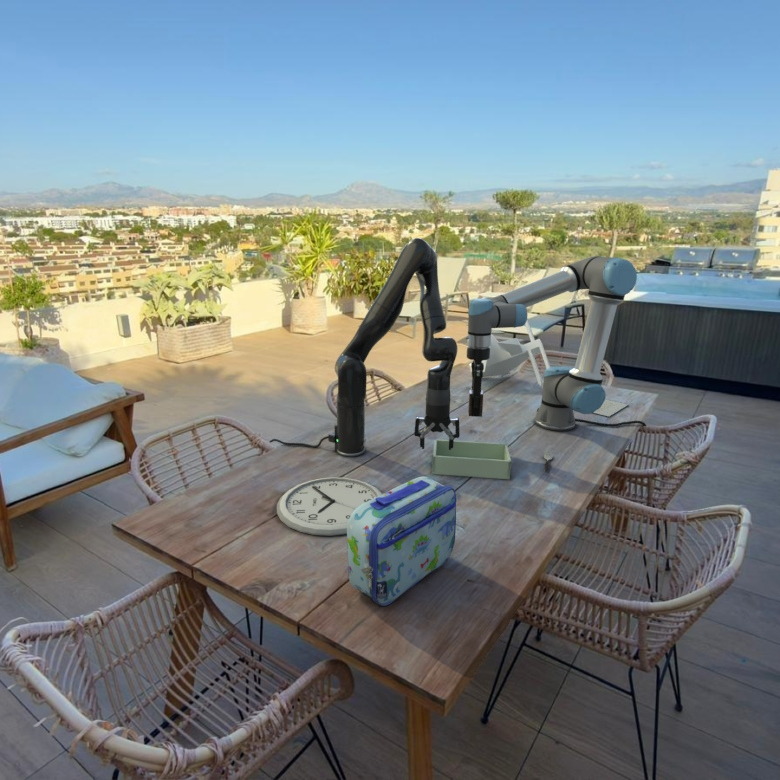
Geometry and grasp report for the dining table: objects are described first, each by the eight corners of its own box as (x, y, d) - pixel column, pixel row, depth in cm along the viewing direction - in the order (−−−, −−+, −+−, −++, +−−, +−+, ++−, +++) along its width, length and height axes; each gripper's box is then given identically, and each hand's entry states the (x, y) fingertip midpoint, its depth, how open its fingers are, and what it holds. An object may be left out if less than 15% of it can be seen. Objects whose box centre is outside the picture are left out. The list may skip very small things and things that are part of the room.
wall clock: (392, 527, 129) (268, 531, 127) (391, 533, 130) (269, 537, 127) (383, 473, 158) (282, 475, 155) (383, 478, 158) (282, 480, 156)
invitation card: (608, 416, 214) (573, 407, 224) (608, 416, 214) (573, 408, 224) (628, 404, 229) (594, 396, 238) (628, 405, 229) (594, 397, 238)
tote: (505, 460, 172) (507, 443, 171) (509, 479, 159) (511, 461, 158) (433, 455, 175) (434, 439, 173) (432, 474, 162) (432, 456, 160)
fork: (540, 473, 163) (541, 467, 163) (544, 453, 178) (545, 448, 177) (549, 474, 162) (550, 468, 162) (552, 454, 177) (553, 449, 176)
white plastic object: (490, 419, 265) (470, 397, 240) (471, 347, 287) (451, 319, 262) (561, 395, 253) (548, 369, 228) (536, 321, 275) (521, 290, 250)
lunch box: (376, 619, 101) (377, 524, 95) (340, 592, 109) (339, 502, 102) (459, 562, 119) (465, 479, 113) (424, 542, 126) (427, 463, 120)
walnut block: (481, 412, 181) (482, 390, 178) (482, 416, 176) (483, 394, 174) (468, 411, 181) (469, 389, 179) (468, 416, 177) (469, 393, 174)
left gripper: (460, 397, 166) (458, 444, 171) (415, 396, 167) (414, 443, 172) (461, 405, 158) (459, 454, 163) (414, 404, 160) (413, 452, 165)
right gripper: (466, 340, 180) (463, 404, 187) (467, 352, 164) (464, 422, 171) (488, 341, 179) (484, 405, 186) (491, 353, 163) (487, 423, 170)
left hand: (436, 448), depth 168 cm, fingers open, 8 cm apart
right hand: (474, 413), depth 179 cm, fingers closed on walnut block, 4 cm apart
